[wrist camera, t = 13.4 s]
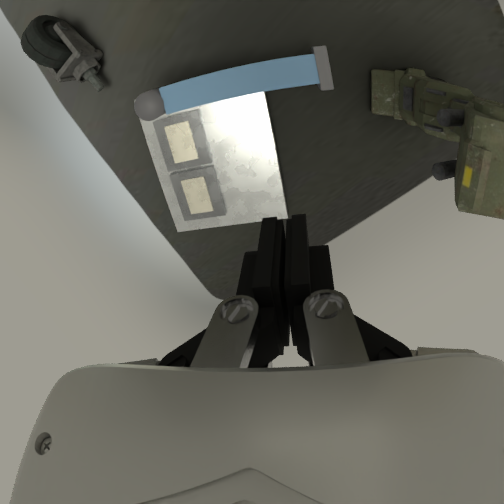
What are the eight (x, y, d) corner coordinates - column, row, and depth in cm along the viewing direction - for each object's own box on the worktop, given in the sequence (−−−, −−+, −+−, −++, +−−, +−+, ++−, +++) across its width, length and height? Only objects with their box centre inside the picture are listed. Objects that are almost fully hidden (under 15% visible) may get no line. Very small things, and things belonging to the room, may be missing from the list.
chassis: (140, 96, 36) (124, 102, 33) (259, 65, 33) (256, 66, 29) (181, 224, 48) (172, 241, 44) (288, 211, 44) (287, 228, 41)
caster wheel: (52, 36, 32) (97, 101, 37) (5, 39, 23) (51, 113, 28) (74, 9, 29) (123, 73, 34) (28, 5, 21) (78, 78, 26)
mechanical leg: (471, 78, 28) (617, 145, 6) (467, 129, 32) (580, 266, 10) (370, 62, 33) (369, 72, 10) (370, 114, 37) (361, 228, 14)
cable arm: (155, 121, 34) (140, 129, 30) (144, 86, 31) (129, 92, 28) (329, 85, 29) (334, 89, 26) (321, 46, 27) (326, 45, 24)
